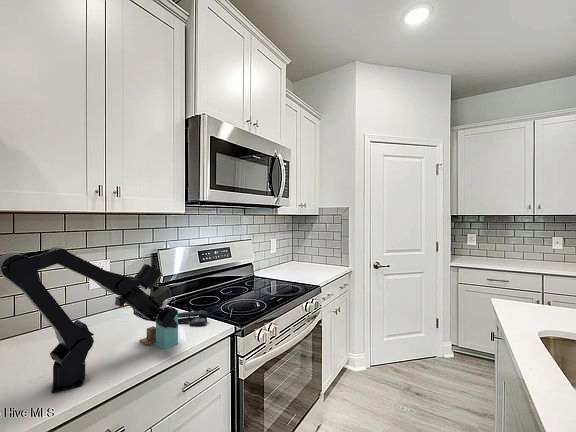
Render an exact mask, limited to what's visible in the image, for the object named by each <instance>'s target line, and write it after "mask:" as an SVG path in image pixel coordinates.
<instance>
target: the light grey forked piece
mask: <svg viewBox="0 0 576 432" xmlns="http://www.w3.org/2000/svg"><path fill="white" fill-rule="evenodd" d="M169 302H170V300H169V298H167V299H166V300H165V301H163V302H162V303H163V306H162V307H160V308H161V309H164V308H165V307H167V305H168V303H169Z"/></svg>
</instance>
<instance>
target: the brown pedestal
mask: <svg viewBox="0 0 576 432" xmlns="http://www.w3.org/2000/svg"><path fill="white" fill-rule="evenodd" d="M138 341H139V343H142V344H143V345H145V346H148V347H149V346H152V345H156V326H150V327H147V328H146V337H144V338H141V339H139V340H138Z"/></svg>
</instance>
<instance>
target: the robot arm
mask: <svg viewBox="0 0 576 432" xmlns="http://www.w3.org/2000/svg"><path fill="white" fill-rule="evenodd" d="M54 265H59V266H60V267H64V268H65V269H68V270H70V271H72V272H74V273H76V274H78V275H81V276H83V277H85V278H87V279H90V280H92V281H93V282H94V283H95V284H97V286H99V287H101V288H102V289H103V290H105V292H108V293H111V294H113V295H118V296H115V302H114V305H115V306H117V307H120V308H122V307H123V306H124V305H125V304H126V305H127V306H129V307H130V308H131V309H132V311H133V315H134V316H135V317H137V318H139V319H142V320H144V321H149V322H153V323H155V324H156V323H157V324H158V325H159V326H161V327H164V328H167V327H170V328H176V327H177V326H178V327H179V324H178V325H177V323H176V321H175V319H174V318H175V316H176V315H177V313H179V310H178V309H176V308H175V307H173V306H166V307H165V308H164V309H161V308H160V307H162V306H163V302H164V301H165V300H166V299H169V298H171V297H172V296H173V294H172V292H171V289H170V287H168V286H166V285H159V286H157V285H156V283H157V282H158V281H159V280H160V278H161V277H162V276H163V273H162V271H160V270H159V269H156V268H155V267H153V266H151V265H150V264H149V263H144V264H143V265H142V267H141V269H140V270H139V271H138V272H137V273H136V274H135V275H134V276H131V275H128V276H126V275H123V274H120V273H116V272H113V271H110V270H105V269H103V268H101V267H99V266H97V265H95V264H93V263H91V262H90V261H88V260H85V259H83V258H82V257H79V256H77V255H76V254H73V253H71V252H69V251H68V250H67V249H66V248H62V247H58V246H57V247H51V248H48V249H43V250H36V251H31V252H24V253H18V252H7V253H4V254H2V255H0V276H1V277H2V278H4V279H5V280H7V281H8V282H9V283H10V284H13V286H15V288H16V287H17V289H19V290H20V291H21V292H22V293H23V294H24V295H25V296H26V298H27V299H28V300H29V301H30V303H31V304H32V305H33V306H34V307H35V308H36V310H37V311H38V312H39V313H40V315H42V317H43V318H44V319H45V321H47V323H48V324H49V325H50V326H51V328H52V329H53V330H54V332H55V336H56V338H57V339H56V340H57V341H58V344H57V345H56V346H55V347H54V348H53V349H52V351H50V353H49V356H50V358H51V360H53V361H54V362H53V365H52V378H53V379H52V388H51V394H54V393H58V392H63V391H66V390H70V389H73V388H77V387H81V386H83V384H84V380H85V379H86V359H87V357H88V355H89V354H88V353H89V351H90V350H91V349H92V347H93V345H94V342H95V340H94V338H93V336H94V335H95V333H93V332H91V331H90V329H89V327H88V326H87V324H86V323H85V322H82V321H80V320H78V319H75V321H74V322H73V321H72V319H71V318H70V317H69V315H68V314H67V313H66V311H64V309H63V308H62V307H61V305H60V304H59V302H58V301H57V300H56V299H55V298H54V297H53V295H52V294H51V293H50V291H49V290H48V289H47V288H46V287H45V285H44V284H43V283H42V281H41V278H40V273H39V271H41V270H43V269H46V268H49V267H51V266H54ZM147 290H150V291H149V292H150V293H149V294H148V293H146V292H145V291H147ZM157 316H158V317H157ZM156 317H157V319H156Z"/></svg>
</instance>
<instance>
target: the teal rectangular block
mask: <svg viewBox="0 0 576 432" xmlns="http://www.w3.org/2000/svg"><path fill="white" fill-rule="evenodd" d="M157 317H158V316H157ZM157 317H156V319H157ZM174 319H175V321H176V323H177V325H178V326H177V327H176V328H170V327H167V328H164V327H161V326H159V325H158V324H157V323H156V322H155V327H156V343H155V345H156V346H157V347H159V348H161V349H163V350H166V349H168V348H171V347H174V346H175V345H177V344H179V324H178V319H179V318H178V315H176V316H175V318H174Z"/></svg>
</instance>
